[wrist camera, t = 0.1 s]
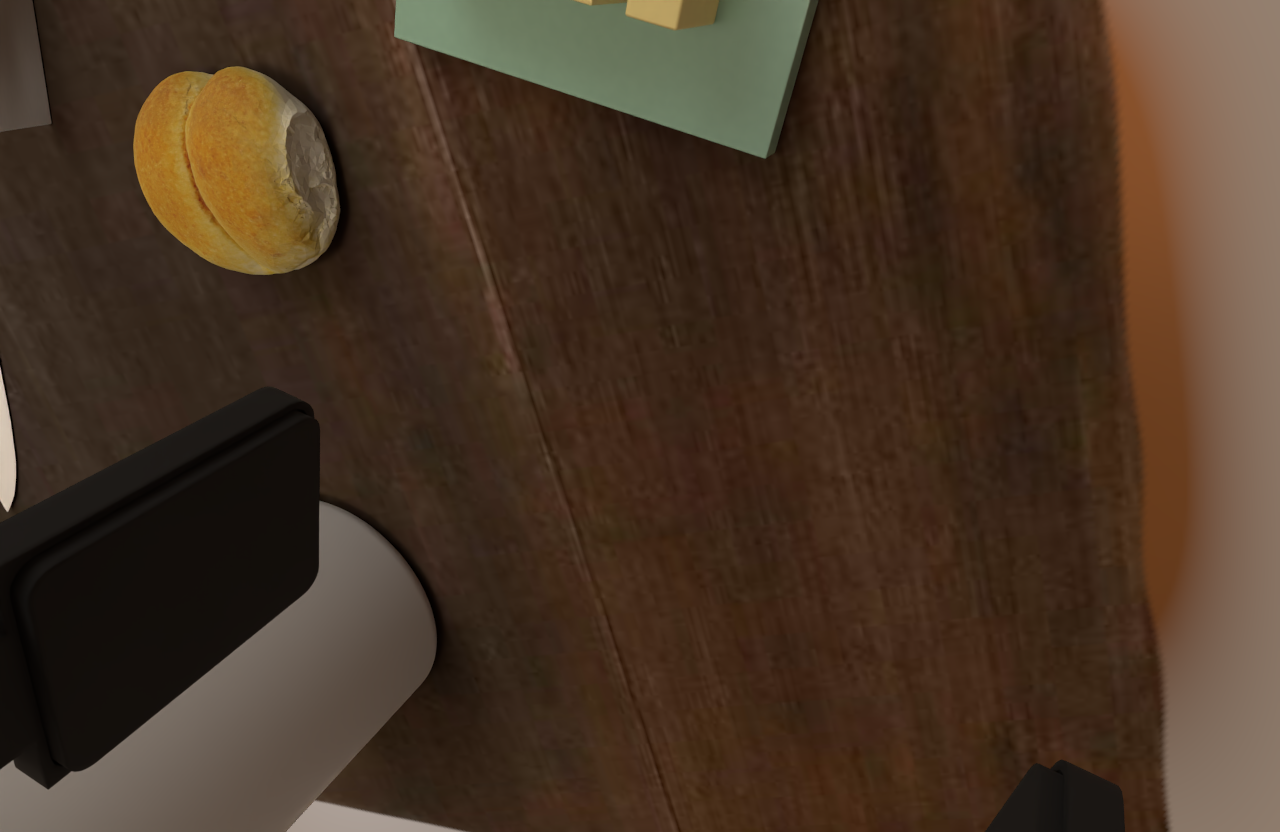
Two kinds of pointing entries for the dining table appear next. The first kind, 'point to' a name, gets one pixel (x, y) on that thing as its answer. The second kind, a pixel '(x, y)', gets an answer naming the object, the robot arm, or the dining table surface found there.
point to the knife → (6, 452)
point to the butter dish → (635, 58)
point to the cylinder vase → (260, 709)
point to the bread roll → (237, 170)
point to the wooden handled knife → (21, 68)
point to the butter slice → (673, 12)
